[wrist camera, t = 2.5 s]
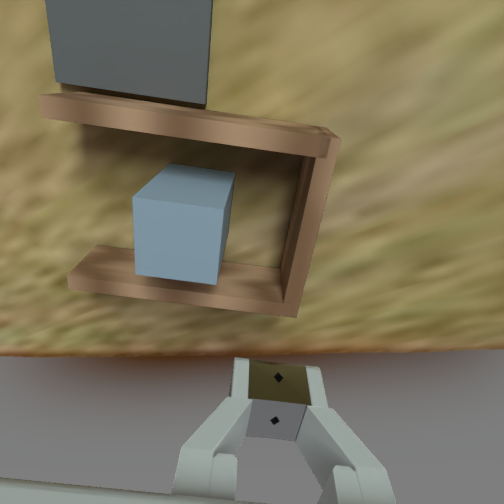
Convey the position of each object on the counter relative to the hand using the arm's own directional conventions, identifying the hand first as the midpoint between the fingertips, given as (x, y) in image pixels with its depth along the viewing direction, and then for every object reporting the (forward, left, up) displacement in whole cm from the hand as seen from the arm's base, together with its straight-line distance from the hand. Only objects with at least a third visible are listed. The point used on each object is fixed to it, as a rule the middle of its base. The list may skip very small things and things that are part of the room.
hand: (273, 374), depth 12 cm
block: (+5, 0, -17) cm, 18 cm away
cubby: (+6, 0, -17) cm, 18 cm away
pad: (+10, -12, -17) cm, 23 cm away
